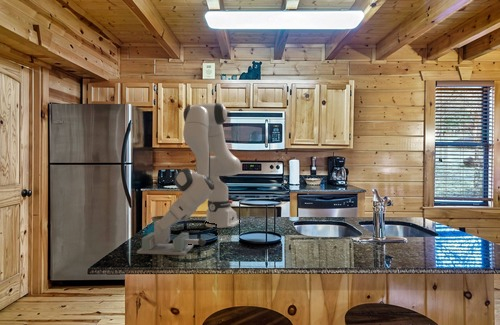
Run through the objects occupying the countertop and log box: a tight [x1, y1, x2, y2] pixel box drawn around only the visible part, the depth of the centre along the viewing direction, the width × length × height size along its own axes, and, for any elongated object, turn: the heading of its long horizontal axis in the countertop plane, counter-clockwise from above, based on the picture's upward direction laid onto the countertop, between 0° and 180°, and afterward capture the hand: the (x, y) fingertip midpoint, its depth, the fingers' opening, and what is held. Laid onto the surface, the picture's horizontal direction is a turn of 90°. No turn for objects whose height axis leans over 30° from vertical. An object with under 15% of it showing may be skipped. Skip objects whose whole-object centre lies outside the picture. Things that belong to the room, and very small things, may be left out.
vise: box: [136, 232, 194, 256], centre depth 136 cm, size 20×12×6 cm, turn 84°
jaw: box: [172, 232, 207, 251], centre depth 135 cm, size 12×10×5 cm
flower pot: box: [151, 215, 164, 226], centre depth 162 cm, size 9×9×9 cm
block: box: [154, 220, 171, 244], centre depth 136 cm, size 5×5×9 cm
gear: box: [142, 221, 154, 237], centre depth 154 cm, size 11×6×10 cm
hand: (160, 230), depth 136 cm, fingers closed on block, 5 cm apart
